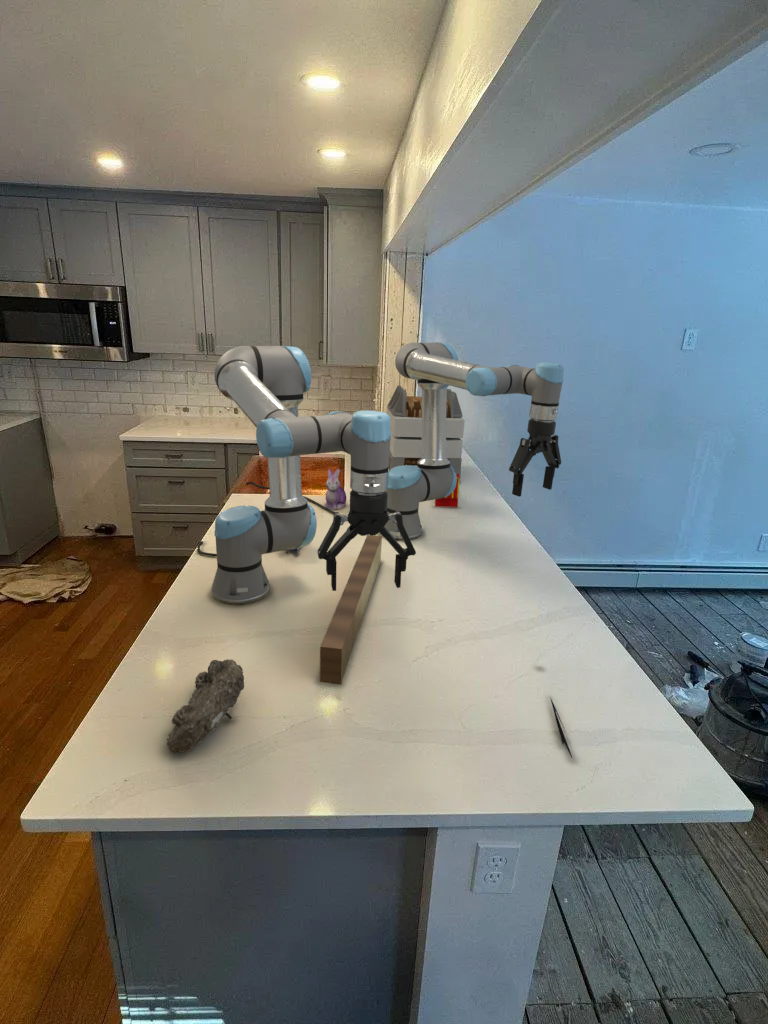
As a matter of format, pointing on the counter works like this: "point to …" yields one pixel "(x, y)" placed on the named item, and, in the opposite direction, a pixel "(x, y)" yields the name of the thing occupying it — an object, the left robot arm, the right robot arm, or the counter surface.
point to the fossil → (206, 705)
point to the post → (349, 613)
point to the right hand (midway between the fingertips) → (532, 491)
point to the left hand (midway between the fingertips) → (365, 586)
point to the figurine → (334, 492)
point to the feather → (560, 728)
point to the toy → (450, 497)
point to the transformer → (409, 429)
